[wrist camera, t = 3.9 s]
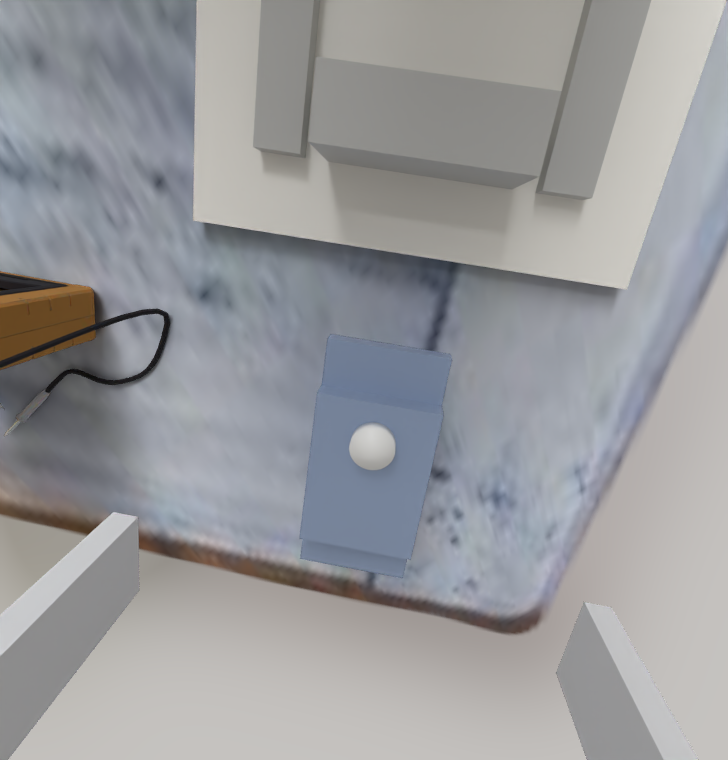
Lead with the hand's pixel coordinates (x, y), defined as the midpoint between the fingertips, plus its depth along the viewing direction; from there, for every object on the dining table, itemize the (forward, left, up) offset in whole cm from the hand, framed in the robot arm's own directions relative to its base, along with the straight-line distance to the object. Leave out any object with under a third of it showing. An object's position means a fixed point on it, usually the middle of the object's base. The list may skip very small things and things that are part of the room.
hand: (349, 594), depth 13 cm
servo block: (0, 0, -12) cm, 12 cm away
